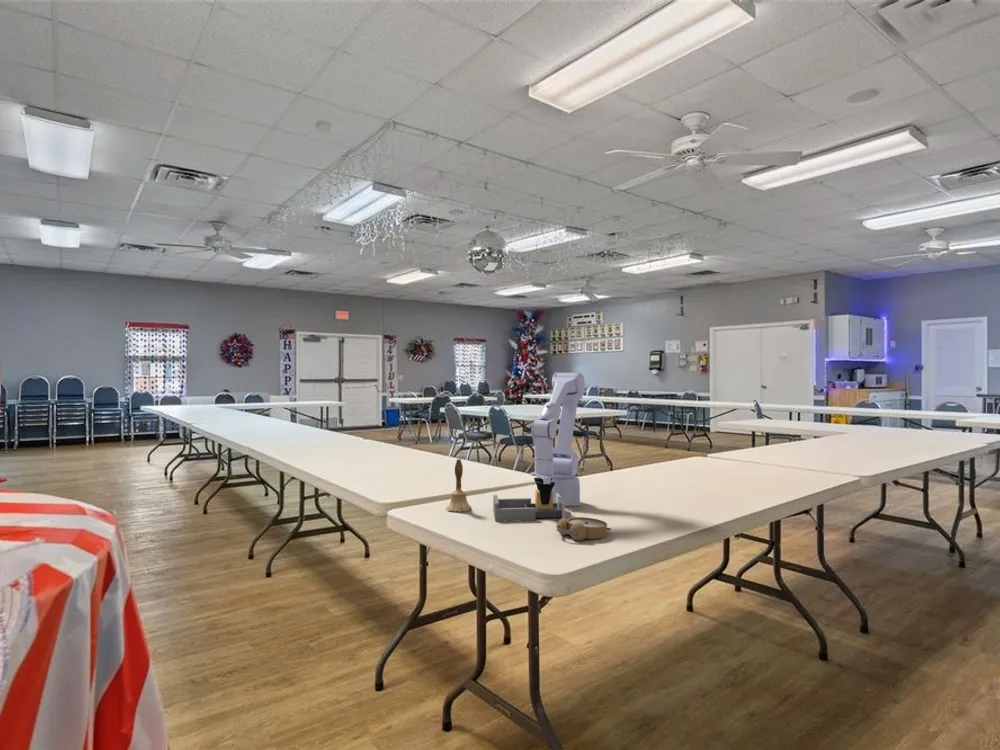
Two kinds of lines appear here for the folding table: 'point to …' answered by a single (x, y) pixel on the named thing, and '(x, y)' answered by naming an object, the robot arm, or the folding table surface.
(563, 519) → the alarm clock
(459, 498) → the hand bell
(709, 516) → the folding table surface
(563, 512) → the tray
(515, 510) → the frame
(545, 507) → the block
